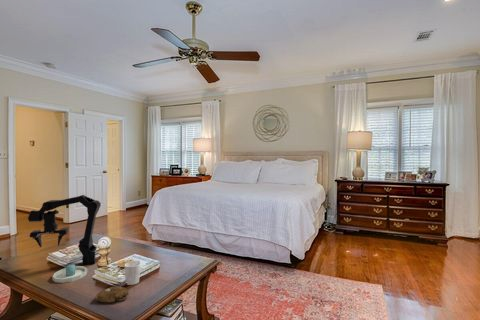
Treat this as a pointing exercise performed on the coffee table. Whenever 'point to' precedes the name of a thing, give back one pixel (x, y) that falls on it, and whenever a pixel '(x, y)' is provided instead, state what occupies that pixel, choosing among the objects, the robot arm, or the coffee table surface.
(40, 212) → the robot arm
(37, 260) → the coffee table surface
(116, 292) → the decorative rock
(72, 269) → the bead
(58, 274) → the ceramic dish
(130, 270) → the white cup
